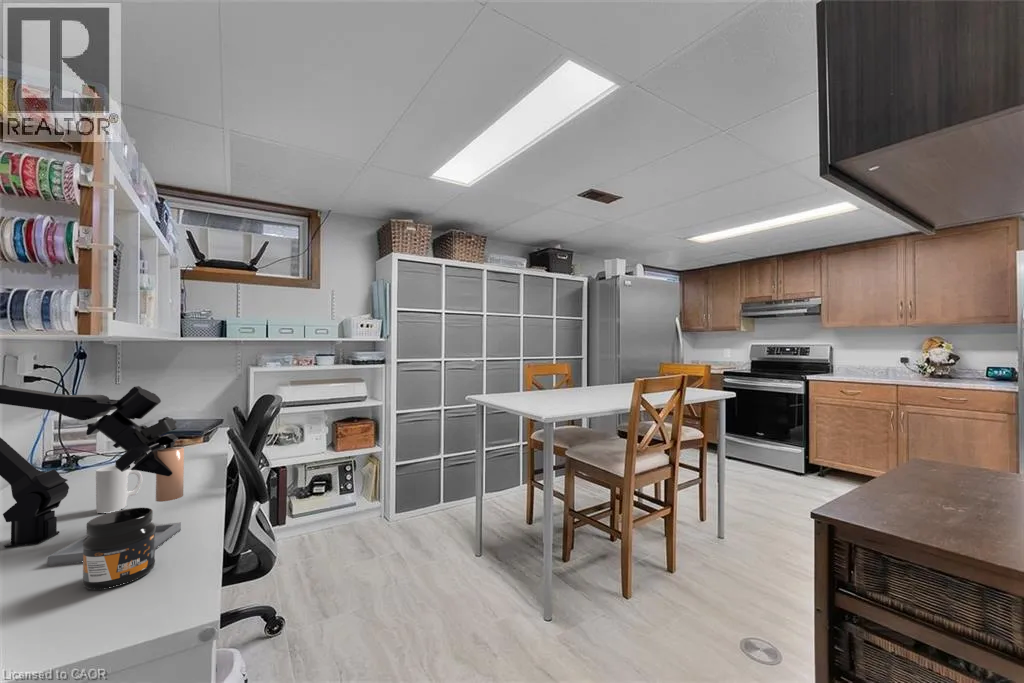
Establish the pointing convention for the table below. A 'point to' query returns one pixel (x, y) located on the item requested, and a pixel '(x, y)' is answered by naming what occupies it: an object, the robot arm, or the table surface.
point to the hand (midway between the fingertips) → (176, 471)
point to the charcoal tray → (75, 549)
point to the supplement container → (118, 548)
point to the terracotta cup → (174, 483)
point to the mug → (114, 488)
